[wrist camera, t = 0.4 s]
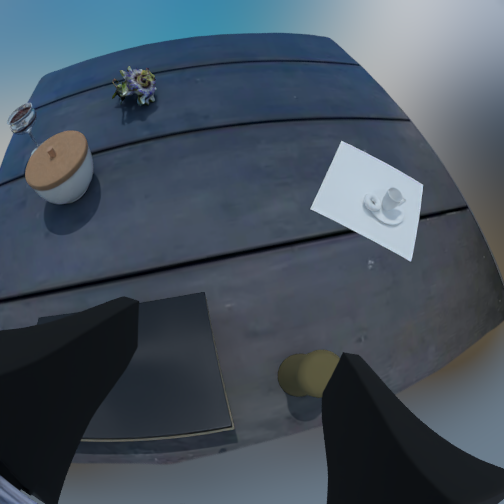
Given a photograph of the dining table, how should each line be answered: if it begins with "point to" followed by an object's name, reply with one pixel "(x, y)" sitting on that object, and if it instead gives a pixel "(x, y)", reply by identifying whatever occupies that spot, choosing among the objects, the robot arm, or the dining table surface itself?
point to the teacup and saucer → (371, 199)
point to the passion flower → (137, 86)
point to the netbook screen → (165, 376)
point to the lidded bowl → (61, 168)
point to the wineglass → (23, 121)
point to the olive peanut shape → (307, 373)
